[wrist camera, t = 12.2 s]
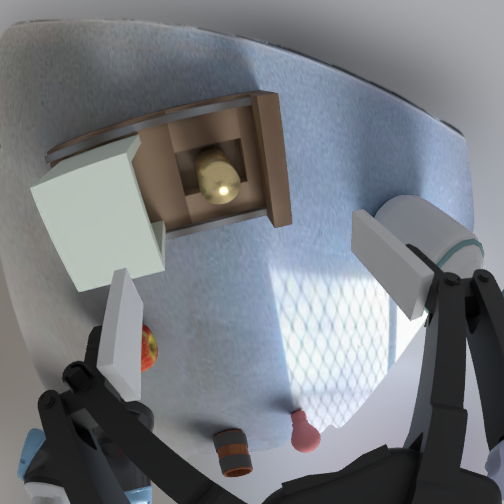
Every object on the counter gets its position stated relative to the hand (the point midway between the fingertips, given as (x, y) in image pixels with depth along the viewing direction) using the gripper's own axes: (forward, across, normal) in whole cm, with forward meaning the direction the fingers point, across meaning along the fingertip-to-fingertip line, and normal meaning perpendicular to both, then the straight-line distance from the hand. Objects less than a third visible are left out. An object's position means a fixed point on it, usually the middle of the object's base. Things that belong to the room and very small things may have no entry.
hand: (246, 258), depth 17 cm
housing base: (+21, -5, 0) cm, 21 cm away
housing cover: (+17, -11, 0) cm, 21 cm away
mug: (+21, -12, -70) cm, 74 cm away
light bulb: (+21, +7, -65) cm, 69 cm away
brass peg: (+20, 0, 0) cm, 20 cm away
